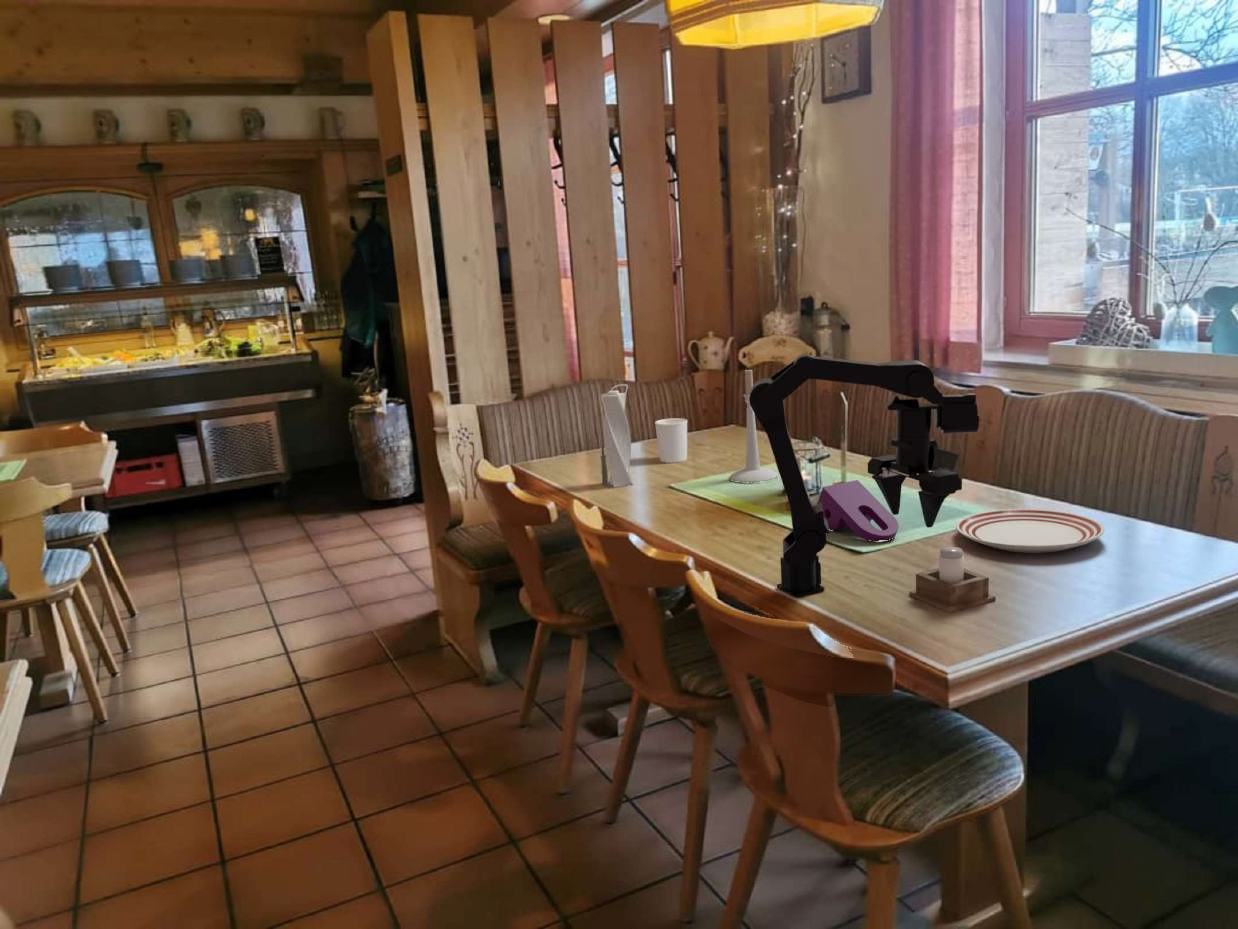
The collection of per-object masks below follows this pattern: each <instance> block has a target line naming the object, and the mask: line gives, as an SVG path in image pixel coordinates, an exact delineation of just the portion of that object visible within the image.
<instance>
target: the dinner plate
mask: <svg viewBox="0 0 1238 929" xmlns="http://www.w3.org/2000/svg"><path fill="white" fill-rule="evenodd" d="M955 529H956V531H958V532H959V533H960V534H961V535H963V536H964V537H967V539H968V538H969V539H970V540H971V541H974V542H977V543H979V544H982V545H985V546H988V547H991V548H994V549H997V548H998V549H997V550H1002V551H1007V552H1012V551H1014V552H1013V553H1022V552H1023V553H1025V554H1026V553H1027V554H1044V553H1055V552H1061V551H1065V550H1070V549H1072V548H1076V547H1081V546H1084V545H1087V544H1089V543H1092V542H1093V541H1095V540H1097V539H1099V538H1100V537H1102V535H1104V533H1105V526H1104V525H1103V524H1102V523H1101V522H1099V521H1098V520H1095V519H1093V518H1091V517H1087V516H1085V515H1082V514H1077V513H1074V512H1073V513H1072V512H1067V511H1062V510H1055V509H1040V508H1038V509H1037V508H1007V509H1005V508H1004V509H995V510H987V511H982V512H977V513H973V514H969V515H968V516H967V515H966V516H964V517H962V518H961V519H959V520H958V521H957V522H956V524H955Z"/></svg>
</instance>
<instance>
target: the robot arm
mask: <svg viewBox="0 0 1238 929" xmlns="http://www.w3.org/2000/svg"><path fill="white" fill-rule="evenodd" d="M811 379H812V380H819V381H820V380H821V381H827V382H829V381H830V382H837V383H845V384H855V385H863V386H872V387H877V388H881V389H885V390H887V391H889V392H892V393H896V394H893V395H892V397H891V398H890V399H889V400H888V401H887V402H885V405H884V406H885V408H886V409H887V410H888V411H896V438H893V439H891V440H890V442H891V443H890V445H891V446H893V447H895V450H896V452H895V454H887V455H881V456H880V455H879V456H874V457H871V458H870V459H869V461H868V462H867V473H868V474H869V475H870V474H871V478H872V480H874V481H875V483H876V485H877V487H878V489H879V491H880V492H881V494H882V496H883V497H884V500H885V501H886V504H887V506H888V507H889V510H890V513H891V514H892V515H893V516H898V515H899V514H900V510H901V509H900V507H901V497H902V495H901V494H902V486H903V483H904V482H905V480H906V478H909V479H912V480H915V481H918V485H919V488H920V489H921V490H919V491H918V494H917V495H918V498H919V503H920V507H921V512H922V516H923V521H924V524H925V526H926V527H925V528H927V529H928V528H933V526H934V524H935V523H936V520H937V516H938V514H939V512H940V510H941V508H942V505H943V503H944V501H945V499H946V498H947V497H948V496H950V495H953V494H956V493H957V491H962V489H963V477H962V476H961V475H960V474H959V473H958V472H955V471H956V468H957V465H958V462H959V457H960V454H959V453H955V452H952V451H948V450H944V449H941V448H939V445H938V441H937V439H933V438H932V410H933V426H934V428H935V429H939V430H940V433H941V434H942V435H943V434H947V435H948V434H949V435H951V434H977V433H978V429H979V427H980V426H979V425H980V415H979V412H978V411H979V410H978V404H977V395H976V394H975V393H973V392H967V393H966V392H965V393H962V394H961V393H960V394H943V391H941V390H940V388H937V386H935V376H934V372H933V371H932V370H931V369H930V368H929V367H928V366H927V365H926V364H925V363H923V362H922V361H919V360H916V359H910V360H909V359H908V360H894V361H886V362H868V361H862V360H851V359H842V358H834V357H824V356H814V355H811V354H808V353H802V354H799V355H798V356H797V357H796V358H795V359H794V360H793V361H791V362H790V363H789V364H788V365H786V366H785V367H783V368H781V369H780V370H778V371H776V373H774V374H773V375H772V376H770V377H763V378H760V379H758V380H756V381H755V382H753V386H752V388H751V391H750V399H749V400H750V405H751V407H752V409H753V411H754V414H755V418H756V419H757V420H758V422H759V424H760V425H761V427H762V429H763V430H764V432H765V434H766V436H767V437H768V438H767V439H768V441H769V444H770V448H771V451H772V454H773V458H774V460H775V464H776V466H777V470H778V473H779V476H780V480H781V483H782V486H783V489H784V491H785V495H786V499H787V501H788V505H789V510H790V518H791V526H792V531H790V532H789V533H787V535H786V536H785V537H784V538H783V539H782V555H783V556H782V557H780V558H779V559H780V578H781V580H780V583H777V584H776V587H777V589H779V590H781V591H783V592H784V593H787V594H789V595H791V596H792V597H794V598H798V597H802V596H803V597H804V596H806V595H810V594H814V593H815V594H816V593H819V592H824V591H825V586H823V585H822V564H821V562H820V561H819V560H820V558H819V555H817V554H818V553H820V552H821V551H822V550H823V549H825V546H827V541H828V538H827V534H830V531H829V527H828V522H827V520H826V519H825V518H824V516H823V509H822V504H821V503H819V504H818V503H817V504H814V503H813V501H812V499H811V498H810V495H809V492H808V490H807V487H806V484H805V483H806V482H805V481H804V480H805V479H804V477H803V474H802V471H801V468H800V465H799V464H800V463H799V461H798V458H797V455H796V451H795V449H794V445H793V442H792V438H791V436H790V433H789V429H788V426H787V425H788V424H787V420H786V410H785V402H784V400H785V399H786V398H788V397H789V396H791V395H792V393H794V392H795V391H796V390H797V389H799V387H801V386H802V385H803V384H804V383H805V382H807V381H808V380H811ZM897 394H899V395H902V396H905V397H910V398H900V397H899V396H898V395H897ZM921 398H923V399H924V400H925V401H927V402H928V403H927V402H926V403H922V402H919V399H921ZM947 469H949V470H947ZM931 470H932V471H931Z"/></svg>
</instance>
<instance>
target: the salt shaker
mask: <svg viewBox="0 0 1238 929" xmlns="http://www.w3.org/2000/svg"><path fill="white" fill-rule="evenodd" d="M964 558H965V557H964V554H963V549H962V548H960V547H957V546H945V547H941V548H940V549H939V554H938V568H939V580H942V581H944V582H946V583H949V584H953V583H957V582H961V581H964V568H965V567H964V566H965V562H964V561H965V560H964Z"/></svg>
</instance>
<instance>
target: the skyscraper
mask: <svg viewBox="0 0 1238 929" xmlns="http://www.w3.org/2000/svg"><path fill="white" fill-rule="evenodd" d="M622 386H623V387H625V392H620V391H619V390H618V389H617V390H614V389H615V388H618V387H622ZM628 389H629V385H628V384H627V383H619V384H616V385H614V386H612V387H611V389H610V390H609V391H607V392H606V393H602V394H601V395H600V399H601V402H602V406H603V410H604V418H603V440H602V439H601V446H600V447H601V448H600V449H601V455H600V461H601V478H602V479H601V480H602V481H601V485H603V486H604V485H605V487H606V488H607V489H610V488H611V489H616V488H622V487H629V486H628V485H630V486H634V483H633V480H632V479H631V476H630V474H629V473H630V466H631V464H630V463H631V455H632V442H631V432H630V431H631V430H630V426H629V420H628V418H627V415H626V412H625V410H626V402H627V393H628ZM607 467H608V468H607ZM608 471H609V475H610V477H608Z"/></svg>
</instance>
